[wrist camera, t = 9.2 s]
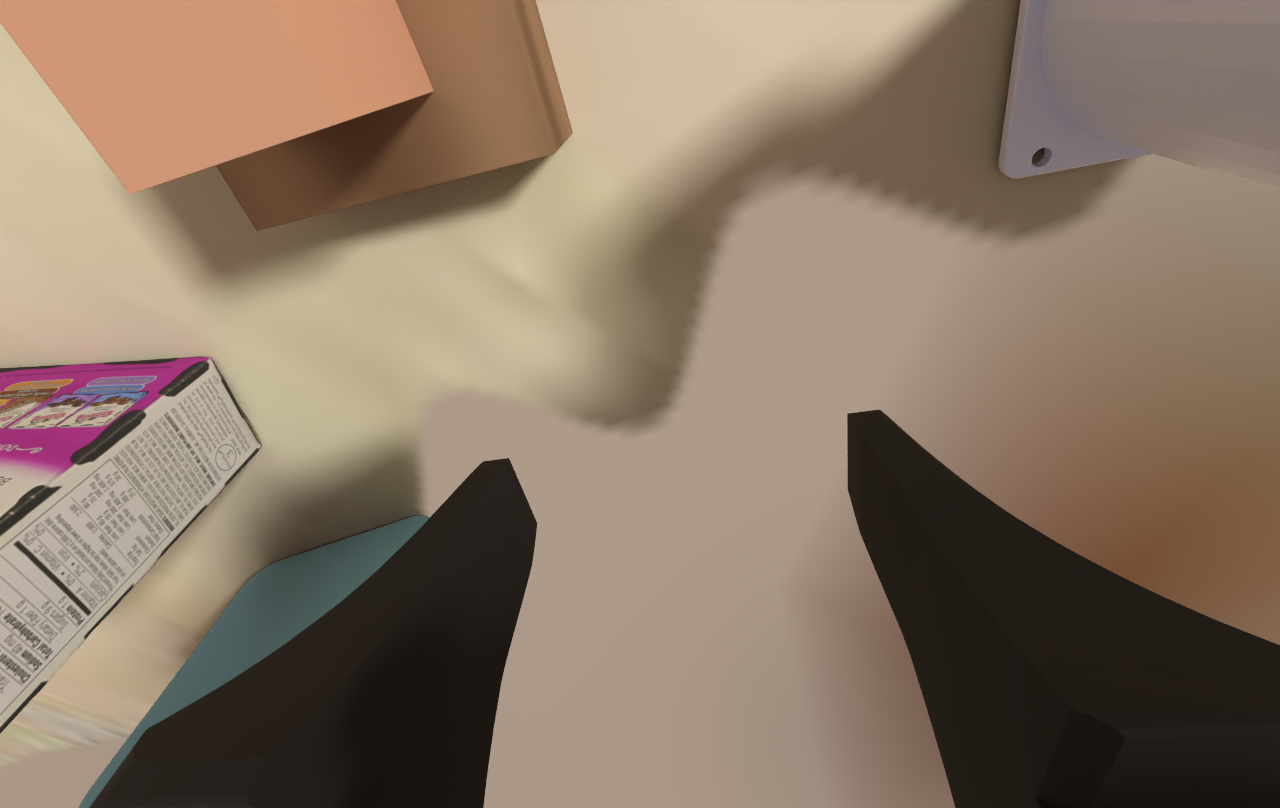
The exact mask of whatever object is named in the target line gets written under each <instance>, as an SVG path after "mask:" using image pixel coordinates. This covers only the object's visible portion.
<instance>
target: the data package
mask: <svg viewBox="0 0 1280 808" xmlns="http://www.w3.org/2000/svg"><path fill="white" fill-rule="evenodd" d="M428 519H429V517H427V516H423V515H417V516H412V517H409V518H406V519H403V520H400V521H397V522H394V523H391V524H388V525H385V526H382V527H379V528H376V529H373V530H370V531H367V532H364V533H361V534H358V535H355V536H352V537H349V538H346V539H343V540H340V541H337V542H334V543H331V544H328V545H325V546H322V547H319V548H316V549H313V550H310V551H307V552H304V553H301V554H298V555H294V556H291V557H288V558H285V559H282V560H279V561H277V562H274V563H272V564H270V565H268V566H267V567H265V568H264V569H262V570H261V571H259V572H258V573H257V574H256V575H254V576H253V577H252V578H251V579H250V580H249V581H248V582H247V583H246V584H245V585H244V586H243V587H242V588H241V589H240V591H239V592H238V593H237V594H236V596H235V597H234V598H233V600H232V601H231V602H230V604H229V605H228V606H227V608H226V609H225V610H224V612H223V613H222V614H221V616H220V617H219V618H218V620H217V621H216V622H215V624H214V625H213V626H212V628H211V629H210V630H209V632H208V633H207V634H206V636H205V637H204V638H203V640H202V641H201V642H200V644H199V645H198V646H197V647H196V649H195V650H194V651H193V653H192V654H191V655H190V657H189V658H188V659H187V661H186V662H185V663H184V665H183V666H182V667H181V669H180V670H179V671H178V673H177V674H176V675H175V677H174V678H173V679H172V681H171V682H170V683H169V685H168V686H167V687H166V689H165V690H164V691H163V693H162V694H161V695H160V697H159V698H158V699H157V701H156V702H155V703H154V705H153V706H152V707H151V709H150V710H149V711H148V713H147V714H146V715H145V717H144V718H143V719H142V721H141V722H140V723H139V724H138V726H137V727H136V728H135V730H134V731H133V732H132V734H131V735H130V736H129V738H128V739H127V740H126V742H125V743H124V745H123V746H122V747H121V749H120V750H119V751H118V752H117V754H116V755H115V756H114V758H113V759H112V760H111V762H110V763H109V765H108V766H107V767H106V768H105V770H104V771H103V772H102V774H101V775H100V776H99V778H98V779H97V780H96V782H95V783H94V784H93V786H92V787H91V788H90V790H89V791H88V793H87V794H86V796H85V797H84V799H83V801H82V803H81V804H80V807H79V808H89V807H90V806H91V805H92V803H93V802H94V800H95V799H96V798H97V796H98V795H99V793H100V792H101V791H102V789H103V788H104V787H105V785H106V784H107V782H108V781H109V780H110V778H111V777H112V776H113V774H114V773H115V771H116V770H117V769H118V767H119V766H120V764H121V763H122V762H123V760H124V759H125V758H126V756H127V755H128V753H129V752H130V751H131V749H132V748H133V747H134V745H135V744H136V742H137V741H138V740H139V738H140V737H141V735H142V734H143V733H144V732H145V730H146V729H148V728H149V727H151V726H153V725H155V724H157V723H159V722H160V721H162V720H164V719H166V718H167V717H169V716H171V715H172V714H174V713H176V712H178V711H179V710H181V709H183V708H184V707H186V706H188V705H190V704H191V703H193V702H195V701H197V700H198V699H200V698H202V697H203V696H205V695H207V694H209V693H210V692H212V691H214V690H215V689H217V688H219V687H220V686H222V685H223V684H225V683H227V682H228V681H230V680H231V679H233V678H235V677H236V676H238V675H239V674H241V673H242V672H244V671H245V670H247V669H248V668H250V667H252V666H253V665H255V664H256V663H258V662H259V661H261V660H262V659H264V658H265V657H267V656H268V655H270V654H271V653H272V652H274V651H275V650H277V649H278V648H280V647H281V646H283V645H284V644H285V643H287V642H288V641H290V640H291V639H292V638H294V637H295V636H296V635H298V634H299V633H300V632H302V631H303V630H304V629H306V628H307V627H308V626H310V625H311V624H312V623H314V622H315V621H316V620H318V619H319V618H320V617H322V616H323V615H324V614H326V613H327V612H328V611H330V610H331V609H332V608H333V607H335V606H336V605H337V604H338V603H340V602H341V601H342V600H343V599H344V598H346V597H347V596H348V595H349V594H350V593H352V592H353V591H354V590H355V589H356V588H357V587H359V586H360V585H361V584H362V583H363V582H364V581H366V580H367V579H368V578H369V577H370V576H371V575H372V574H373V573H375V572H376V571H377V570H378V569H379V568H380V567H381V566H382V565H383V564H384V563H385V562H386V561H387V560H388V559H389V558H390V557H391V556H392V555H393V554H394V553H395V552H397V551H398V550H399V549H400V548H401V547H402V546H403V545H404V544H405V543H406V542H407V541H408V540H409V539H410V538H411V537H412V536H413V535H414V534H415V533H416V532H417V531H418V530H419V529H420V528H421V527H422V526H423V525H424V523H425V522H426V521H427V520H428Z"/></svg>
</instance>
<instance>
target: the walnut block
mask: <svg viewBox="0 0 1280 808" xmlns="http://www.w3.org/2000/svg"><path fill="white" fill-rule="evenodd" d="M396 3H397V5H398V8H399V10H400V12H401V15H402V17H403V19H404V22H405V24H406V26H407V29H408V31H409V34H410V36H411V38H412V41H413V43H414V45H415V48H416V50H417V52H418V55H419V57H420V60H421V62H422V64H423V67H424V69H425V71H426V74H427V76H428V78H429V81H430V83H431V86H432V88H433V90H434V91H433V92H430V93H427V94H425V95H422V96H419V97H416V98H413V99H410V100H407V101H404V102H401V103H398V104H395V105H392V106H389V107H386V108H383V109H380V110H377V111H374V112H371V113H368V114H365V115H362V116H359V117H357V118H354V119H351V120H348V121H345V122H342V123H339V124H336V125H333V126H330V127H327V128H324V129H321V130H318V131H315V132H312V133H309V134H306V135H303V136H300V137H297V138H294V139H291V140H288V141H285V142H282V143H280V144H277V145H274V146H271V147H268V148H265V149H262V150H259V151H256V152H253V153H250V154H247V155H244V156H241V157H238V158H235V159H232V160H229V161H226V162H223V163H220V164H217V165H216V166H217V168H218V169H219V171H220V172H221V174H222V176H223V177H224V179H225V180H226V182H227V184H228V185H229V187H230V189H231V190H232V192H233V193H234V195H235V197H236V198H237V200H238V201H239V203H240V205H241V206H242V208H243V210H244V211H245V213H246V214H247V216H248V218H249V219H250V221H251V222H252V224H253V226H254V227H255V229H256V231H258V230H262V229H266V228H270V227H273V226H277V225H281V224H285V223H289V222H293V221H297V220H300V219H304V218H308V217H312V216H316V215H320V214H324V213H328V212H331V211H335V210H339V209H343V208H347V207H351V206H355V205H358V204H362V203H366V202H370V201H374V200H378V199H382V198H385V197H389V196H393V195H397V194H401V193H405V192H409V191H413V190H416V189H420V188H424V187H428V186H432V185H436V184H440V183H443V182H447V181H451V180H455V179H459V178H463V177H467V176H470V175H474V174H478V173H482V172H486V171H490V170H494V169H498V168H501V167H505V166H509V165H513V164H517V163H521V162H525V161H528V160H532V159H536V158H540V157H544V156H548V155H552V154H555V153H556V151H557V150H558V149H559V148H560V147H561V146H562V145H563V143H564V142H565V141H566V140H567V139H568V138H569V136H570V135H571V134H572V133H573V132H572V128H571V125H570V121H569V118H568V114H567V111H566V107H565V104H564V100H563V96H562V93H561V89H560V86H559V82H558V79H557V75H556V72H555V68H554V65H553V61H552V58H551V54H550V51H549V47H548V43H547V40H546V36H545V33H544V29H543V26H542V22H541V19H540V15H539V12H538V8H537V5H536V1H535V0H396Z"/></svg>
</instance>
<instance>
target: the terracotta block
mask: <svg viewBox="0 0 1280 808" xmlns="http://www.w3.org/2000/svg"><path fill="white" fill-rule="evenodd" d="M0 23H1V24H2V26H3V27H4V28H5V30H6V31H7V32H8V34H9V35H10V36H11V38H12V39H13V40H14V42H15V43H16V44H17V46H18V47H19V48H20V50H21V51H22V52H23V54H24V55H25V56H26V58H27V59H28V60H29V62H30V63H31V64H32V66H33V67H34V68H35V70H36V71H37V72H38V74H39V75H40V76H41V77H42V79H43V80H44V81H45V83H46V84H47V85H48V87H49V88H50V89H51V91H52V92H53V93H54V95H55V96H56V97H57V99H58V100H59V101H60V103H61V104H62V105H63V107H64V108H65V109H66V111H67V112H68V113H69V115H70V116H71V117H72V119H73V120H74V121H75V123H76V124H77V125H78V127H79V128H80V129H81V131H82V132H83V133H84V135H85V136H86V137H87V138H88V140H89V141H90V142H91V144H92V145H93V146H94V148H95V149H96V150H97V152H98V153H99V154H100V156H101V157H102V158H103V160H104V161H105V162H106V164H107V165H108V166H109V168H110V169H111V170H112V172H113V173H114V174H115V176H116V177H117V178H118V180H119V181H120V182H121V184H122V185H123V186H124V188H125V189H126V190H127V192H128V193H129V194H131V193H134V192H137V191H140V190H143V189H146V188H149V187H152V186H155V185H158V184H161V183H164V182H167V181H170V180H173V179H176V178H179V177H182V176H185V175H188V174H191V173H194V172H197V171H199V170H202V169H205V168H208V167H211V166H214V165H217V164H220V163H223V162H226V161H229V160H232V159H235V158H238V157H241V156H244V155H247V154H250V153H253V152H256V151H259V150H262V149H265V148H268V147H271V146H274V145H277V144H280V143H282V142H285V141H288V140H291V139H294V138H297V137H300V136H303V135H306V134H309V133H312V132H315V131H318V130H321V129H324V128H327V127H330V126H333V125H336V124H339V123H342V122H345V121H348V120H351V119H354V118H357V117H359V116H362V115H365V114H368V113H371V112H374V111H377V110H380V109H383V108H386V107H389V106H392V105H395V104H398V103H401V102H404V101H407V100H410V99H413V98H416V97H419V96H422V95H425V94H427V93H430V92H433V91H434V90H433V88H432V86H431V83H430V81H429V78H428V76H427V74H426V71H425V69H424V67H423V64H422V62H421V60H420V57H419V55H418V52H417V50H416V48H415V45H414V43H413V41H412V38H411V36H410V34H409V31H408V29H407V26H406V24H405V22H404V19H403V17H402V15H401V12H400V10H399V8H398V5H397V3H396V0H0Z"/></svg>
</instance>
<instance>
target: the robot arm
mask: <svg viewBox="0 0 1280 808" xmlns="http://www.w3.org/2000/svg"><path fill="white" fill-rule="evenodd" d="M1041 148H1044V151H1045V153H1044V155H1043V158H1042V159H1041V160H1040V161H1039V162H1037V163H1035V164H1032V157H1033V155H1034V154H1035V153H1036V152H1037V151H1038V150H1039V149H1041ZM1149 154H1157V155H1161V156H1164V157H1167V158H1171V159H1174V160H1178V161H1181V162H1185V163H1188V164H1191V165H1194V166H1198V167H1201V168H1204V169H1208V170H1211V171H1214V172H1218V173H1221V174H1224V175H1228V176H1231V177H1234V178H1238V179H1242V180H1245V181H1248V182H1251V183H1255V184H1258V185H1262V186H1265V187H1268V188H1271V189H1275V190H1278V191H1280V0H1021V1H1020V9H1019V16H1018V23H1017V31H1016V38H1015V45H1014V53H1013V60H1012V67H1011V75H1010V82H1009V89H1008V97H1007V104H1006V111H1005V119H1004V126H1003V133H1002V141H1001V148H1000V155H999V169H1000V171H1001V172H1002V174H1004V175H1006V176H1008V177H1010V178H1016V179H1019V178H1025V177H1030V176H1035V175H1041V174H1046V173H1052V172H1057V171H1062V170H1068V169H1073V168H1079V167H1084V166H1089V165H1095V164H1100V163H1106V162H1111V161H1116V160H1122V159H1127V158H1132V157H1138V156H1143V155H1149ZM848 491H849V495H850V499H851V502H852V506H853V510H854V513H855V517H856V520H857V524H858V527H859V530H860V533H861V536H862V539H863V541H864V543H865V546H866V548H867V550H868V553H869V555H870V558H871V560H872V563H873V565H874V567H875V570H876V572H877V574H878V577H879V579H880V582H881V584H882V586H883V589H884V591H885V593H886V596H887V598H888V600H889V603H890V605H891V608H892V610H893V612H894V615H895V617H896V619H897V622H898V624H899V627H900V629H901V631H902V634H903V637H904V639H905V642H906V644H907V647H908V650H909V653H910V655H911V659H912V662H913V665H914V668H915V671H916V675H917V678H918V681H919V684H920V688H921V690H922V694H923V697H924V700H925V704H926V707H927V710H928V714H929V717H930V721H931V724H932V727H933V731H934V734H935V737H936V741H937V744H938V748H939V751H940V754H941V758H942V761H943V764H944V768H945V772H946V775H947V779H948V783H949V786H950V790H951V793H952V797H953V800H954V804H955V807H956V808H1280V645H1277V644H1275V643H1272V642H1270V641H1267V640H1265V639H1262V638H1259V637H1257V636H1254V635H1252V634H1249V633H1247V632H1244V631H1241V630H1239V629H1237V628H1234V627H1232V626H1229V625H1227V624H1224V623H1222V622H1219V621H1217V620H1214V619H1212V618H1209V617H1207V616H1205V615H1203V614H1200V613H1198V612H1196V611H1194V610H1192V609H1189V608H1187V607H1185V606H1183V605H1181V604H1178V603H1176V602H1174V601H1172V600H1169V599H1167V598H1165V597H1163V596H1160V595H1158V594H1156V593H1154V592H1152V591H1150V590H1148V589H1145V588H1143V587H1141V586H1139V585H1137V584H1135V583H1133V582H1131V581H1129V580H1127V579H1125V578H1123V577H1121V576H1119V575H1117V574H1115V573H1113V572H1111V571H1109V570H1107V569H1105V568H1103V567H1102V566H1099V565H1098V564H1096V563H1094V562H1092V561H1090V560H1088V559H1086V558H1084V557H1082V556H1080V555H1079V554H1077V553H1075V552H1073V551H1071V550H1069V549H1068V548H1066V547H1064V546H1062V545H1061V544H1059V543H1057V542H1055V541H1054V540H1052V539H1050V538H1049V537H1047V536H1045V535H1044V534H1042V533H1040V532H1039V531H1037V530H1036V529H1034V528H1032V527H1030V526H1029V525H1027V524H1026V523H1024V522H1022V521H1021V520H1019V519H1017V518H1016V517H1014V516H1013V515H1011V514H1010V513H1008V512H1006V511H1005V510H1004V509H1002V508H1001V507H999V506H998V505H996V504H995V503H994V502H992V501H991V500H990V499H988V498H987V497H985V496H984V495H983V494H981V493H980V492H978V491H977V490H976V489H974V488H973V487H972V486H970V485H969V484H968V483H966V482H965V481H964V480H962V479H961V478H960V477H959V476H957V475H956V474H955V473H953V472H952V471H951V470H950V469H948V468H947V467H946V466H945V465H943V464H942V463H941V462H940V461H938V460H937V459H936V458H935V457H934V456H932V455H931V454H930V453H929V452H927V451H926V450H925V449H924V448H923V447H921V445H919V444H918V443H917V442H916V441H915V440H914V439H912V438H911V437H910V436H909V435H908V434H907V433H906V432H905V431H903V430H902V429H901V428H900V427H899V426H898V425H897V424H896V423H894V422H893V421H892V420H891V419H890V418H889V417H888V416H887V415H886V414H884V413H883V412H882V411H881V410H873V411H865V412H858V413H850V414H848ZM536 528H537V522H536V520H535V517H534V515H533V513H532V510H531V508H530V506H529V503H528V501H527V499H526V497H525V494H524V492H523V490H522V487H521V485H520V483H519V480H518V479H517V476H516V473H515V471H514V469H513V467H512V464H511V462H510V460H509V458H507V459H500V460H492V461H484V462H482V463H481V464H480V465H479V466H478V467H477V468H476V469H475V470H474V471H473V472H472V473H471V474H470V475H469V476H468V477H467V478H466V480H465V481H464V482H463V483H462V484H461V485H460V486H459V487H458V488H457V489H456V490H455V491H454V492H453V494H452V495H451V496H450V497H449V498H448V499H447V500H446V501H445V502H444V503H443V504H442V506H440V508H439V509H438V510H437V511H436V512H435V513H434V514H433V515H432V516H431V517H430V518H429V519H428V520H427V521H426V522H425V523H424V525H423V526H422V527H421V528H420V529H419V530H418V531H417V532H416V533H415V534H414V535H413V536H412V537H411V538H410V539H409V540H408V541H407V542H406V543H405V544H404V545H403V546H402V547H401V548H400V549H399V550H398V551H397V552H395V553H394V554H393V555H392V556H391V557H390V558H389V559H388V560H387V561H386V562H385V563H384V564H383V565H382V566H381V567H380V568H379V569H378V570H377V571H376V572H375V573H373V574H372V575H371V576H370V577H369V578H368V579H367V580H366V581H364V582H363V583H362V584H361V585H360V586H359V587H357V588H356V589H355V590H354V591H353V592H352V593H350V594H349V595H348V596H347V597H346V598H344V599H343V600H342V601H341V602H340V603H338V604H337V605H336V606H335V607H333V608H332V609H331V610H330V611H328V612H327V613H326V614H324V615H323V616H322V617H320V618H319V619H318V620H316V621H315V622H314V623H312V624H311V625H310V626H308V627H307V628H306V629H304V630H303V631H302V632H300V633H299V634H298V635H296V636H295V637H294V638H292V639H291V640H290V641H288V642H287V643H285V644H284V645H283V646H281V647H280V648H278V649H277V650H275V651H274V652H272V653H271V654H270V655H268V656H267V657H265V658H264V659H262V660H261V661H259V662H258V663H256V664H255V665H253V666H252V667H250V668H248V669H247V670H245V671H244V672H242V673H241V674H239V675H238V676H236V677H235V678H233V679H231V680H230V681H228V682H227V683H225V684H223V685H222V686H220V687H219V688H217V689H215V690H214V691H212V692H210V693H209V694H207V695H205V696H203V697H202V698H200V699H198V700H197V701H195V702H193V703H191V704H190V705H188V706H186V707H184V708H183V709H181V710H179V711H178V712H176V713H174V714H172V715H171V716H169V717H167V718H166V719H164V720H162V721H160V722H159V723H157V724H155V725H153V726H151V727H149V728H148V729H146V730H145V732H144V733H143V734H142V735H141V737H140V738H139V740H138V741H137V742H136V744H135V745H134V747H133V748H132V749H131V751H130V752H129V753H128V755H127V756H126V758H125V759H124V760H123V762H122V763H121V764H120V766H119V767H118V769H117V770H116V771H115V773H114V774H113V776H112V777H111V778H110V780H109V781H108V782H107V784H106V785H105V787H104V788H103V789H102V791H101V792H100V793H99V795H98V796H97V798H96V799H95V800H94V802H93V803H92V805H91V806H90V807H89V808H483V805H484V796H485V787H486V779H487V771H488V763H489V757H490V750H491V743H492V736H493V728H494V722H495V716H496V710H497V704H498V698H499V692H500V686H501V681H502V676H503V672H504V668H505V663H506V659H507V656H508V652H509V648H510V645H511V641H512V637H513V633H514V630H515V626H516V622H517V619H518V615H519V612H520V608H521V605H522V601H523V597H524V593H525V589H526V586H527V582H528V578H529V574H530V570H531V566H532V560H533V553H534V546H535V537H536Z"/></svg>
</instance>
